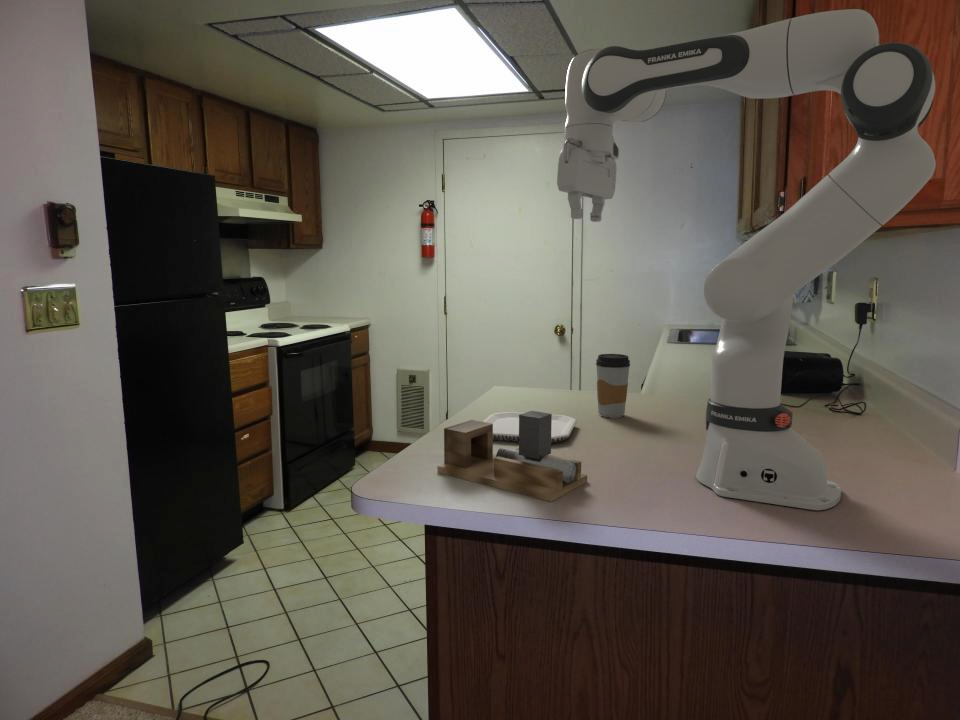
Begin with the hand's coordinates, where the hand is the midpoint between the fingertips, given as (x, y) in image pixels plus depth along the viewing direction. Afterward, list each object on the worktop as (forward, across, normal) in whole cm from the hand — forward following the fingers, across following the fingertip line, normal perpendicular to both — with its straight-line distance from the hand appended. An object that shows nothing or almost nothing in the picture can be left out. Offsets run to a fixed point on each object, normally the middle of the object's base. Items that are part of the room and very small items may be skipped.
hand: (586, 220), depth 123 cm
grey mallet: (+44, -21, 0) cm, 49 cm away
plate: (+46, +9, +17) cm, 50 cm away
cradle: (+46, -21, +5) cm, 50 cm away
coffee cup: (+46, +34, +6) cm, 57 cm away
